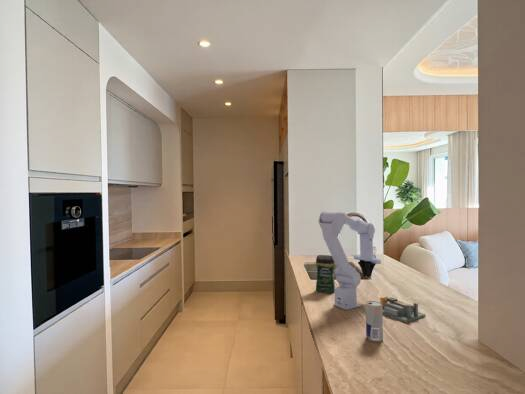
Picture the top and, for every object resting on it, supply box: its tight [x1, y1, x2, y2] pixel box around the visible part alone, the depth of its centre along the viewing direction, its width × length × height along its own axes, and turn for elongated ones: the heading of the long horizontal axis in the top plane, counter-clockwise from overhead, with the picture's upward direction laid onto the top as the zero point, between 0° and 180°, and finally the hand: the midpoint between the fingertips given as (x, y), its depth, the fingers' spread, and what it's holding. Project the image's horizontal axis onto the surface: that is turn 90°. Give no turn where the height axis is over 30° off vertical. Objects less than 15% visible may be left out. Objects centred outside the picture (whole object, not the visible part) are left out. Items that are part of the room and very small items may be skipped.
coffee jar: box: [315, 254, 336, 294], centre depth 163 cm, size 10×8×19 cm
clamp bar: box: [384, 297, 415, 309], centre depth 130 cm, size 13×3×1 cm, turn 30°
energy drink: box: [365, 300, 384, 343], centre depth 108 cm, size 5×5×12 cm
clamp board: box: [379, 295, 426, 324], centre depth 131 cm, size 12×16×6 cm
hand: (367, 276), depth 150 cm, fingers closed
